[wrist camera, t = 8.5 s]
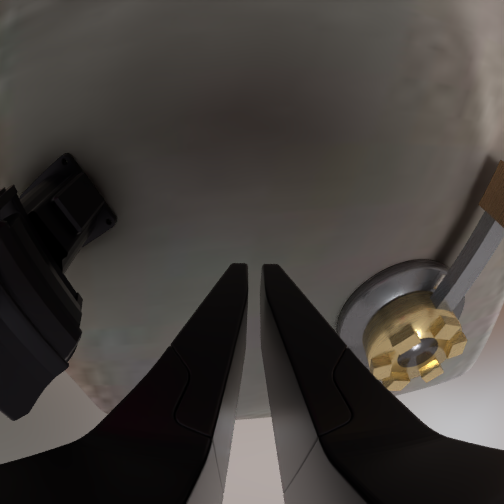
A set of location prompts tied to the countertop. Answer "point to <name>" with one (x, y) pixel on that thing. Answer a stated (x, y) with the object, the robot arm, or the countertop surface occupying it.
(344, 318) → the flange
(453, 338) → the crank handle
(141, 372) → the countertop surface
